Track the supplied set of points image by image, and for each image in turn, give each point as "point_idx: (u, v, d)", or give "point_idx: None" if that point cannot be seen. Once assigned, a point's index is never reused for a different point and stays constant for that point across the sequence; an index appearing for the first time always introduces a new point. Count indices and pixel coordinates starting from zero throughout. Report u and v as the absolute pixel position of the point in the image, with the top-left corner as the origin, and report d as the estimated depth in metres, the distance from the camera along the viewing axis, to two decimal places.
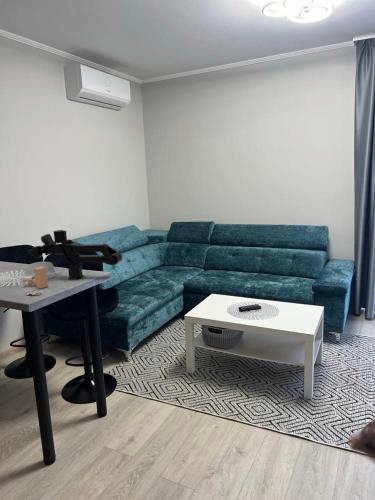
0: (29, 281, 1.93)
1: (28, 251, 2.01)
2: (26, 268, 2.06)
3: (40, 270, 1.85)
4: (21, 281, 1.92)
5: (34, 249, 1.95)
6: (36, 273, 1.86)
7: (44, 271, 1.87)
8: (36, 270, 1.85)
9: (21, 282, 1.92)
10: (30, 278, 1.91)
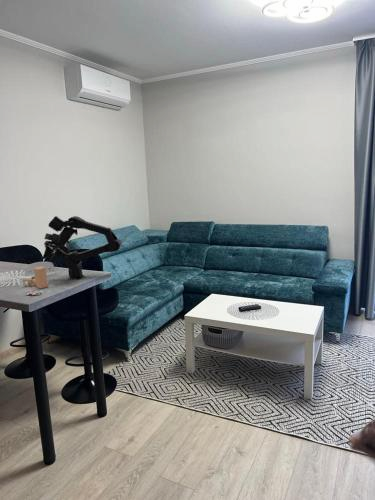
0: (29, 281, 1.93)
1: (52, 258, 1.89)
2: (26, 268, 2.07)
3: (40, 270, 1.85)
4: (21, 281, 1.92)
5: (61, 247, 1.87)
6: (36, 273, 1.86)
7: (44, 271, 1.87)
8: (36, 270, 1.85)
9: (21, 282, 1.92)
10: (30, 278, 1.91)
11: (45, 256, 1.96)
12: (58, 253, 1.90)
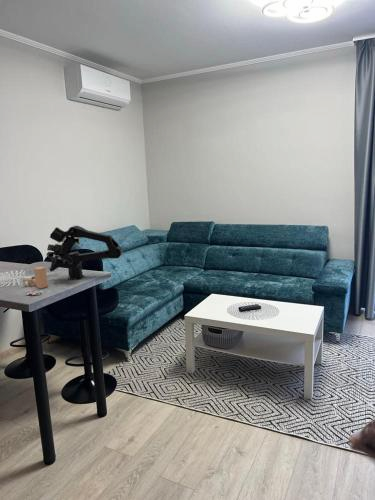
0: (29, 281, 1.93)
1: (52, 268, 1.93)
2: (26, 268, 2.07)
3: (40, 270, 1.85)
4: (21, 281, 1.92)
5: (65, 257, 1.88)
6: (36, 273, 1.86)
7: (44, 271, 1.87)
8: (36, 270, 1.85)
9: (21, 282, 1.92)
10: (30, 278, 1.91)
11: None
12: (58, 262, 1.94)
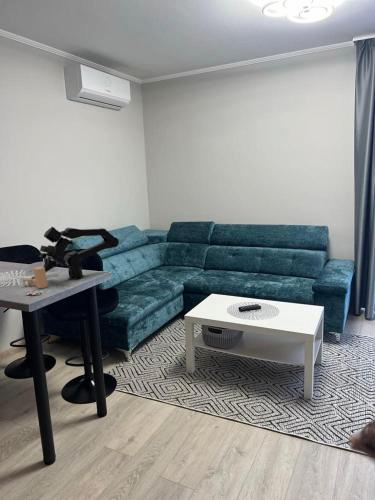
0: (29, 281, 1.93)
1: (45, 270, 1.90)
2: (27, 268, 2.07)
3: (39, 270, 1.85)
4: (21, 281, 1.92)
5: (58, 258, 1.85)
6: (36, 273, 1.86)
7: (43, 271, 1.87)
8: (35, 270, 1.85)
9: (21, 282, 1.92)
10: (30, 278, 1.91)
11: (45, 270, 1.91)
12: (50, 264, 1.91)
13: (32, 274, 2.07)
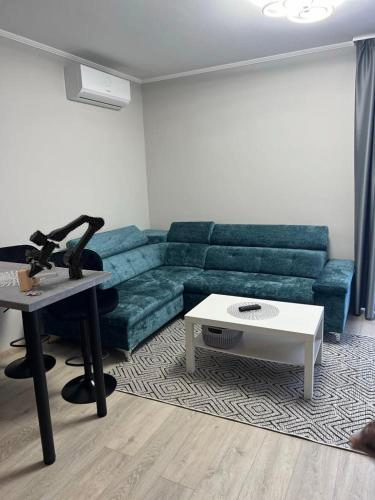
0: None
1: (31, 274, 1.85)
2: (27, 268, 2.07)
3: (20, 273, 1.82)
4: None
5: (44, 263, 1.80)
6: None
7: (24, 275, 1.82)
8: None
9: None
10: None
11: None
12: (37, 268, 1.86)
13: None
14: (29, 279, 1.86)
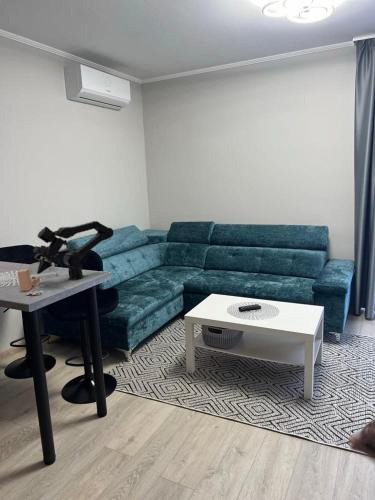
0: None
1: (40, 270, 1.88)
2: (27, 268, 2.07)
3: (20, 273, 1.82)
4: None
5: (51, 258, 1.83)
6: None
7: (24, 275, 1.82)
8: None
9: None
10: None
11: None
12: (45, 264, 1.89)
13: (32, 274, 2.07)
14: (29, 279, 1.86)
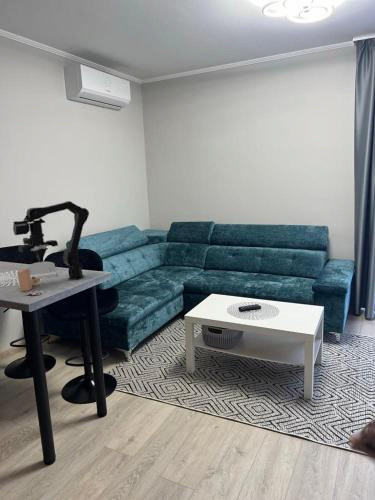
0: None
1: (38, 259, 1.90)
2: (27, 268, 2.07)
3: (20, 273, 1.82)
4: None
5: (18, 249, 1.83)
6: None
7: (24, 275, 1.82)
8: None
9: None
10: None
11: None
12: (37, 252, 1.88)
13: (33, 274, 2.07)
14: (29, 279, 1.86)
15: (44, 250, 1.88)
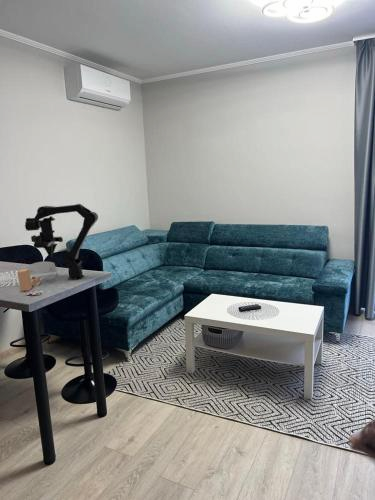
0: None
1: (49, 255, 2.00)
2: (28, 268, 2.07)
3: (20, 273, 1.82)
4: None
5: (35, 245, 1.91)
6: None
7: (24, 275, 1.82)
8: None
9: None
10: None
11: None
12: (48, 248, 1.98)
13: (33, 274, 2.07)
14: (29, 279, 1.86)
15: (55, 245, 2.00)
